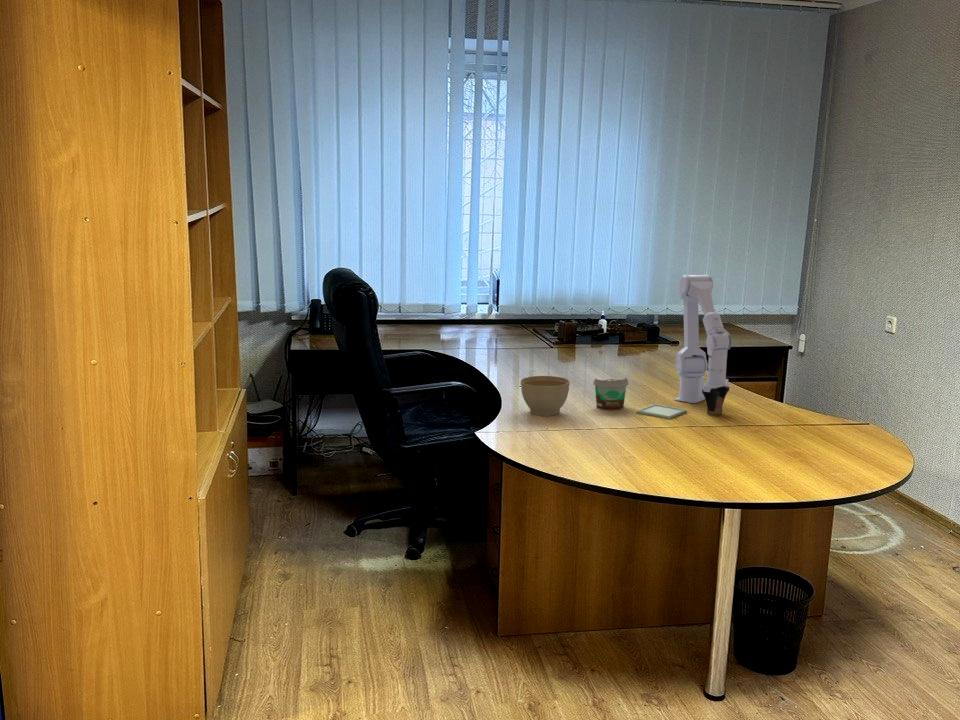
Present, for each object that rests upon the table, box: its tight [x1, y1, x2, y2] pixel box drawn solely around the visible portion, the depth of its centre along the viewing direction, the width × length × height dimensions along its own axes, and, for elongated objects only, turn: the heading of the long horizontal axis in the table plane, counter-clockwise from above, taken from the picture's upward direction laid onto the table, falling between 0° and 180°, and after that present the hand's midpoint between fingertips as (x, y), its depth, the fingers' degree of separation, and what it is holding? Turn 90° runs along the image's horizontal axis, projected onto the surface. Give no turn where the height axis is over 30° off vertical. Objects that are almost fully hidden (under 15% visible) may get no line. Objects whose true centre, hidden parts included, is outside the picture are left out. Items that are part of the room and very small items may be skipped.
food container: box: [592, 376, 629, 411], centre depth 297 cm, size 12×6×10 cm, turn 105°
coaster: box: [636, 403, 688, 420], centre depth 293 cm, size 12×12×1 cm
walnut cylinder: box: [706, 396, 724, 417], centre depth 291 cm, size 5×5×6 cm
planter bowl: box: [520, 375, 571, 417], centre depth 290 cm, size 16×16×11 cm
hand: (714, 409), depth 292 cm, fingers closed on walnut cylinder, 5 cm apart
